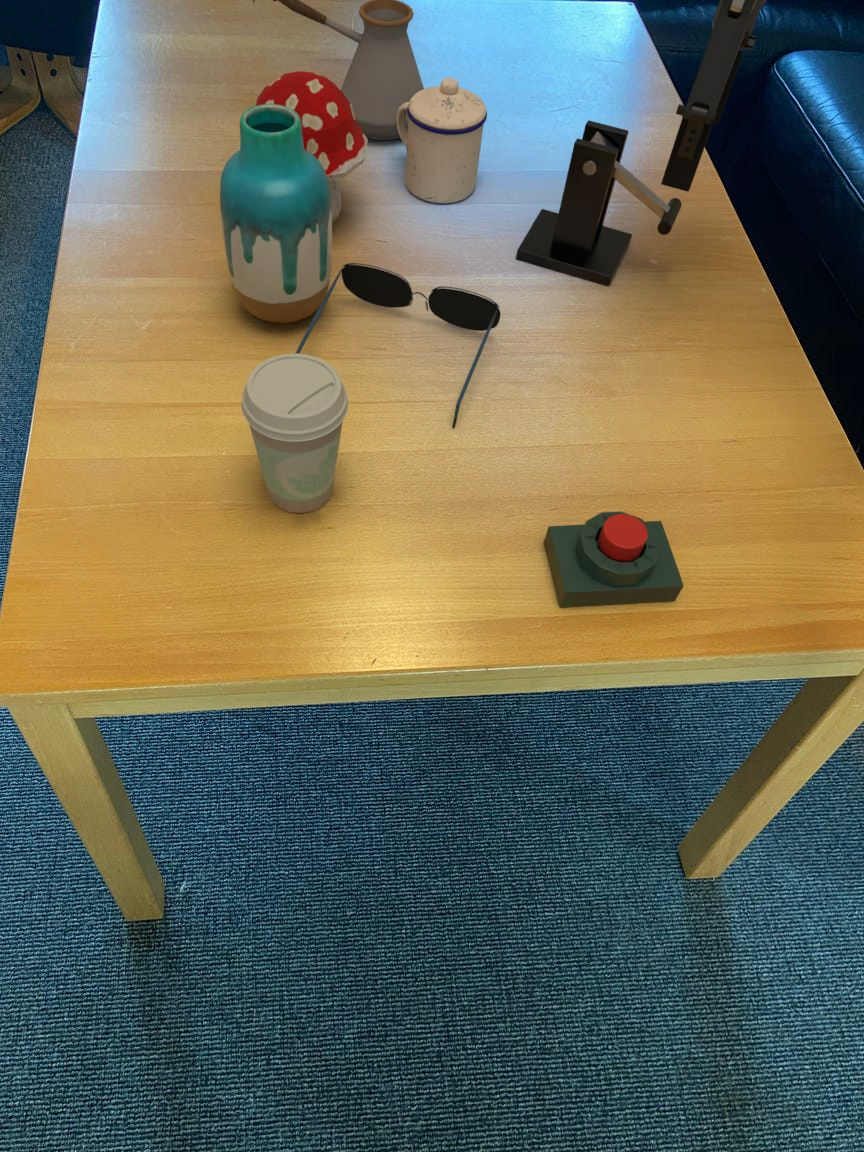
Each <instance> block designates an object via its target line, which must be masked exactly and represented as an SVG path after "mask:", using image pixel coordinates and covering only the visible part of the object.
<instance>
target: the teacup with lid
mask: <svg viewBox="0 0 864 1152" xmlns="http://www.w3.org/2000/svg"><path fill="white" fill-rule="evenodd" d="M406 111H407V114H408V116H409V122H408V129H407V126H406ZM487 119H488V111H487V106H486V105H485V103H484V100H482V99H481V97H480V96H479V95H477V94H476V93H474V92H472V91H471V90H467V89H465V88H461V87H460V85H459V82H458V80H457V79H455V78H453V77H445V78H443V79H442V80H441V82H440V85H436V86H430V87H426V88H424V89H423V90H421V91H419V92H417V93H416V94H415V95H414V96H413V97H412V98H411V100H410V102H406V103H404V104H402V105H401V106H400V107H399V109H398V111H397V117H396V121H397V129H398V132H399V135H400V138H399V139H400V140H401V142H402V144H404V146H405V147H406V155H405V171H404V173H405V174H404V183H405V187H406V188H407V189H408V191H409V192H410V193H411V194H412V195H414V196H415V197H416V198H418V199H420V200H423V201H426V202H428V203H434V204H453V203H457V202H461V201H463V200H465V199H467V198H468V197H470V196H471V194H472V193H473V192H474V190H475V188H476V184H477V179H478V178H477V177H478V170H479V162H480V156H481V155H480V154H481V147H482V140H483V133H484V126H485V122H486V121H487Z"/></svg>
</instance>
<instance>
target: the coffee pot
mask: <svg viewBox="0 0 864 1152" xmlns="http://www.w3.org/2000/svg"><path fill="white" fill-rule="evenodd" d="M255 1H256V0H252V3H253V4H255ZM272 1H273V2H279V3H281V4H282V5H284V6H285V7H286V8H288V9H289V10H290V11H292V12H294V13H296V14H298V15H300V16H302V17H305V18H306V19H307V18H308V19H309V20H312V21H314V22H316V23H317V24H321V25H323V26H327V27H328V28H330V29H332V30H334V31H335V32H338V33H339V34H341V35H342V36H345V37H347V38H348V39H350V40H351V41H354V42H356V43H357V44H358V45H357V47H356V49H355V52H354V54H353V57H352V59H351V62H350V65H349V67H348V70H347V73H346V74H345V77H344V80H343V83H342V85H341V88H340V90H341V91H342V93H343V94H344V95H345V96H346V98H347V99H348V101H349V102H350V103H351V105H352V108H353V111H354V115H355V119H356V122H357V125H358V126H359V128H360V129H361V131H362V132H363V134H364V135H365V136H366V138H367V139H372V140H378V141H392V140H397V139H401V138H400V135H399V132H398V129H397V121H396V117H397V111H398V109H399V107H400V106H401V105H402V104H404V103H406V102H410V100H411V98H412V97H413V96H414V95H415V94H416V93H417V92H419V91H421V90H423V89H425V87H424V84H423V81H422V78H421V74H420V70H419V68H418V65H417V64H418V63H417V61H416V57H415V54H414V51H413V48H412V43H411V41H410V38H409V35H408V28H409V23H410V22H411V21H412V20H413V18H414V11H413V8H412V7H411V6H410V5H408V3H405V2H403V1H401V0H368V1H366V2H364V3H362V4H361V5H360V7H359V9H358V15H359V17H360V18H361V20H362V22H363V23H362V24H363V32H362V33H360V32H358V31H355V30H353V29H351V28H350V27H347V26H345V25H343V24H342V23H340V22H337V21H335V20H333V19H331V18H329V17H328V16H327V15H325V14H323V13H321V12H320V11H318V10H317V9H315V8H313V7H312V6H309V5H308V4H307V3H304V2H303V1H301V0H272ZM408 122H409V116H408V114H407V111H406V126H407V129H408Z"/></svg>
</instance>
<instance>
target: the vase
mask: <svg viewBox="0 0 864 1152" xmlns="http://www.w3.org/2000/svg"><path fill="white" fill-rule="evenodd" d="M239 142H240V143H239V150H237V151H235V153H233V154H232V155H231V156H230V157H229V159H228V160H227V161H226V162H225V164H224V167H223V169H222V172H221V174H220V175H221V176H220V186H219V208H220V220H221V221H220V222H221V229H222V231H221V232H222V238H223V246H224V252H225V253H224V254H225V258H226V259H225V260H226V263H227V269H228V273H229V279H230V282H231V285H232V289H233V291H234V293H235V295H236V297H237V299H238V301H239V302H240V304H241V305H242V306H243V307H244V308H245V310H247V311H248V312H249V313H250V314H251V315H253V316H255V317H256V318H257V319H260V320H263V321H266V322H271V323H277V324H289V323H293V322H298V321H301V320H305V318H308V317H310V316H311V315H312V314H314V312H316V311H318V309H319V307H320V305H321V304H322V302H323V300H324V298H325V296H326V294H327V293H328V291H329V288H330V287H329V286H330V284H331V283H330V282H331V276H332V262H333V223H332V212H331V198H330V190H329V184H328V179H327V176H326V173H325V170H324V168H323V166H322V165H321V163H320V161H319V160H318V159H317V158H316V157H315V156H314V155H313V154H311V153H310V152H308V151H307V150H305V149H304V144H303V135H302V124H301V119H300V117H299V115H298V114H297V113H296V112H295V111H294V110H292V109H290V108H288V107H286V106H282V105H276V104H263V105H258V106H255V105H254V106H252V107H249V108H248V109H246V110H244V112H243V113H241V116H240V118H239Z"/></svg>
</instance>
